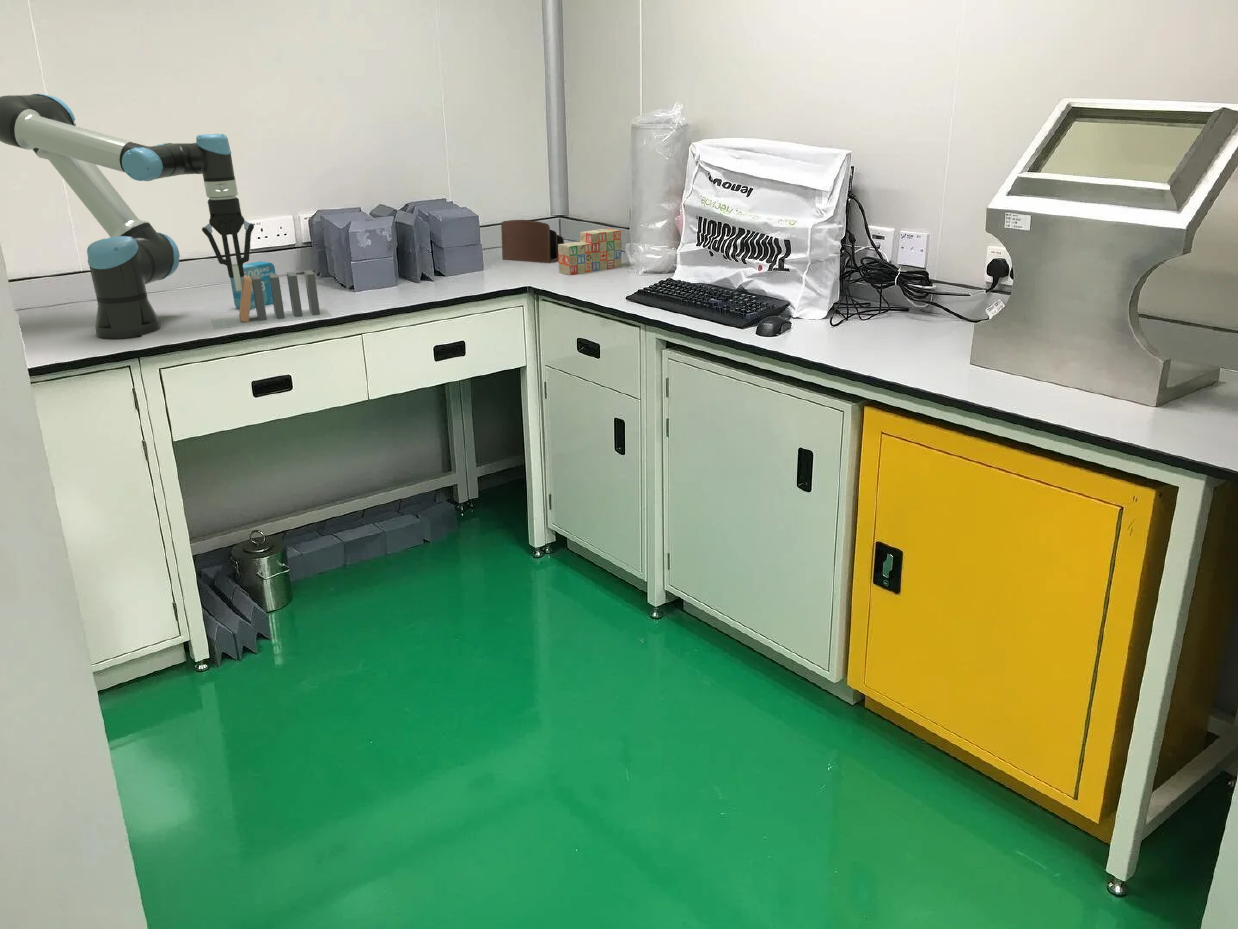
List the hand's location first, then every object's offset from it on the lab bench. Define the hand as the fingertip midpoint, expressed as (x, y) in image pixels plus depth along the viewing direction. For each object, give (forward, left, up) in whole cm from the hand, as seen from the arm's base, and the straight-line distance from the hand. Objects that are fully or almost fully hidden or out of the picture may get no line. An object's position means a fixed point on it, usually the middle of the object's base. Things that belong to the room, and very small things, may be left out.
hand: (239, 289), depth 259 cm
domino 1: (0, 0, -8) cm, 8 cm away
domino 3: (+9, 0, -8) cm, 12 cm away
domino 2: (+5, 0, -8) cm, 9 cm away
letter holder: (+100, +52, -9) cm, 113 cm away
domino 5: (+18, 0, -8) cm, 20 cm away
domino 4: (+14, 0, -8) cm, 16 cm away
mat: (+7, -1, -9) cm, 11 cm away
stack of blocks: (+110, +24, -9) cm, 112 cm away
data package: (+5, +18, -9) cm, 21 cm away
